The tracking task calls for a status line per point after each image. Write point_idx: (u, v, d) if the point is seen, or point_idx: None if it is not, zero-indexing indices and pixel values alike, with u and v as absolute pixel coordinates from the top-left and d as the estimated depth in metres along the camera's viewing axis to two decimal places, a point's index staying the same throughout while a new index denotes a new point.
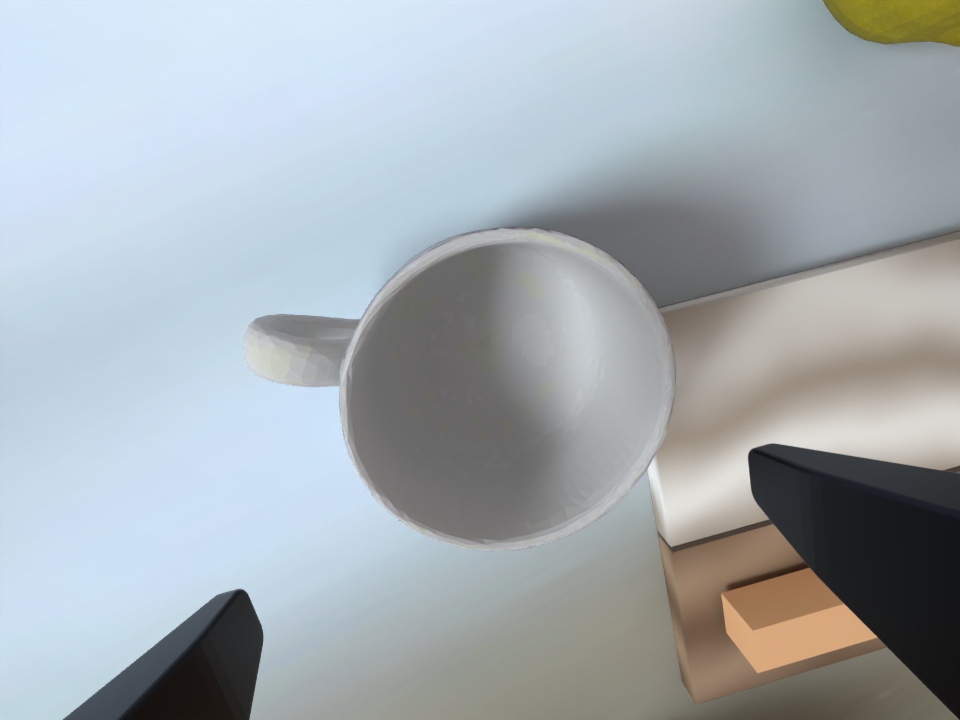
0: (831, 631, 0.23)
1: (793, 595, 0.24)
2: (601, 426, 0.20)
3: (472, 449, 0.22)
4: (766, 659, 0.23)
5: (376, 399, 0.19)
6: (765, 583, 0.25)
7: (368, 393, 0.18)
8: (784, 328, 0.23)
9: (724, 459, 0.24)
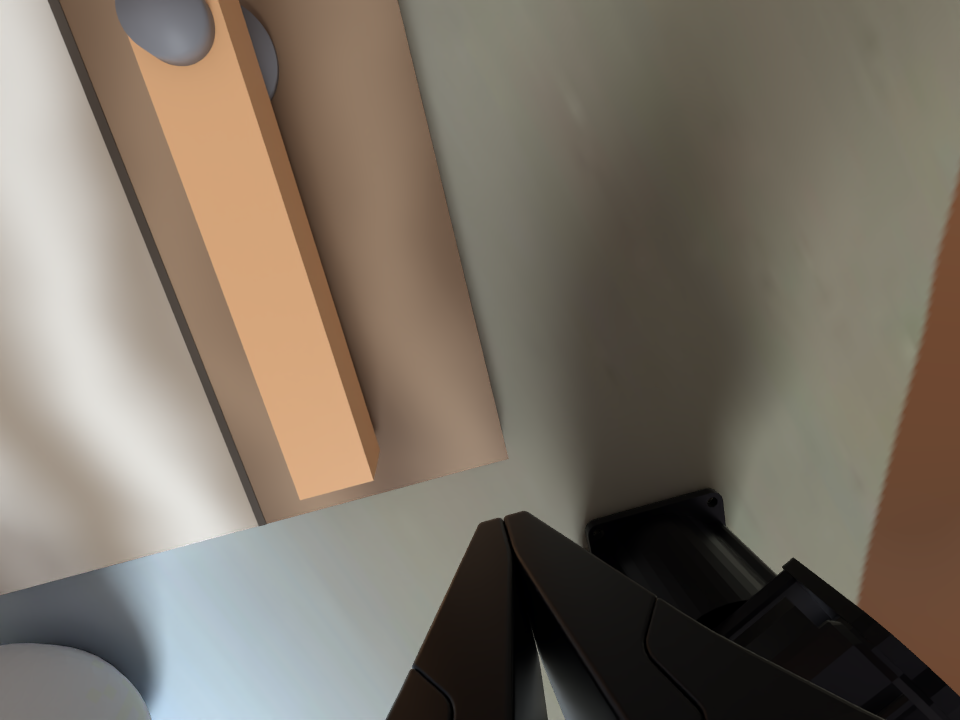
0: (304, 383, 0.16)
1: None
2: None
3: None
4: (350, 472, 0.16)
5: None
6: None
7: None
8: None
9: (126, 479, 0.19)
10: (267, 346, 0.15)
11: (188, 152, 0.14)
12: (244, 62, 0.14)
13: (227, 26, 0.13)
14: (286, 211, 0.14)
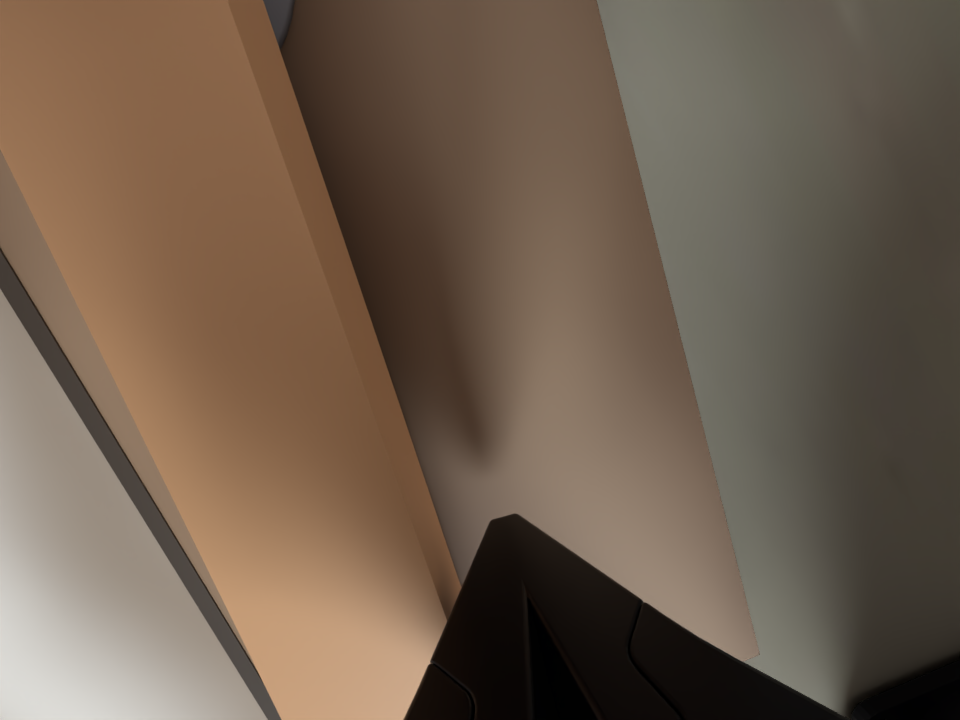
0: (383, 694, 0.07)
1: None
2: None
3: None
4: None
5: None
6: None
7: None
8: None
9: None
10: (298, 628, 0.06)
11: (65, 174, 0.05)
12: None
13: None
14: (339, 317, 0.06)
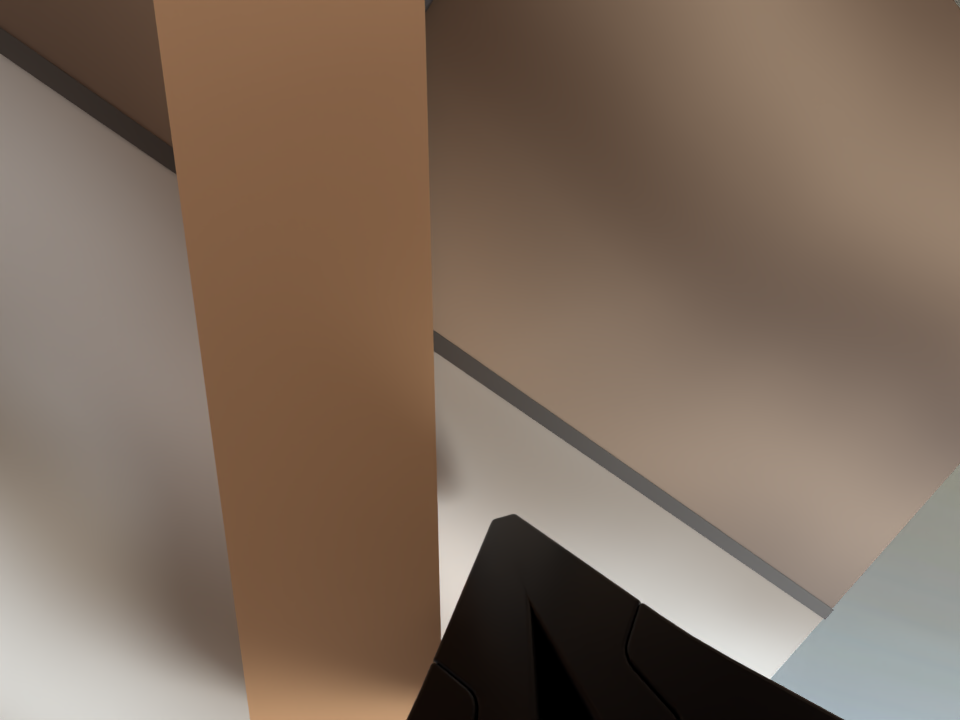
0: (355, 680, 0.07)
1: None
2: None
3: None
4: None
5: None
6: None
7: None
8: None
9: None
10: (293, 592, 0.06)
11: (214, 80, 0.05)
12: None
13: None
14: (431, 292, 0.06)
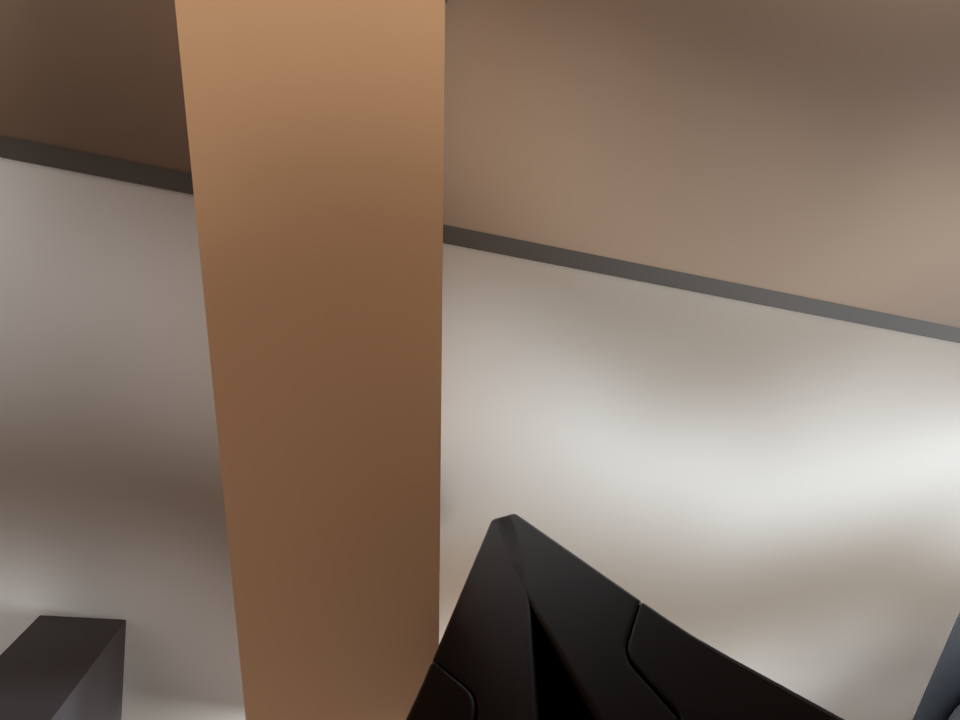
0: (352, 677, 0.07)
1: None
2: None
3: None
4: None
5: None
6: None
7: None
8: None
9: (881, 513, 0.11)
10: (293, 587, 0.06)
11: (231, 72, 0.05)
12: None
13: None
14: None
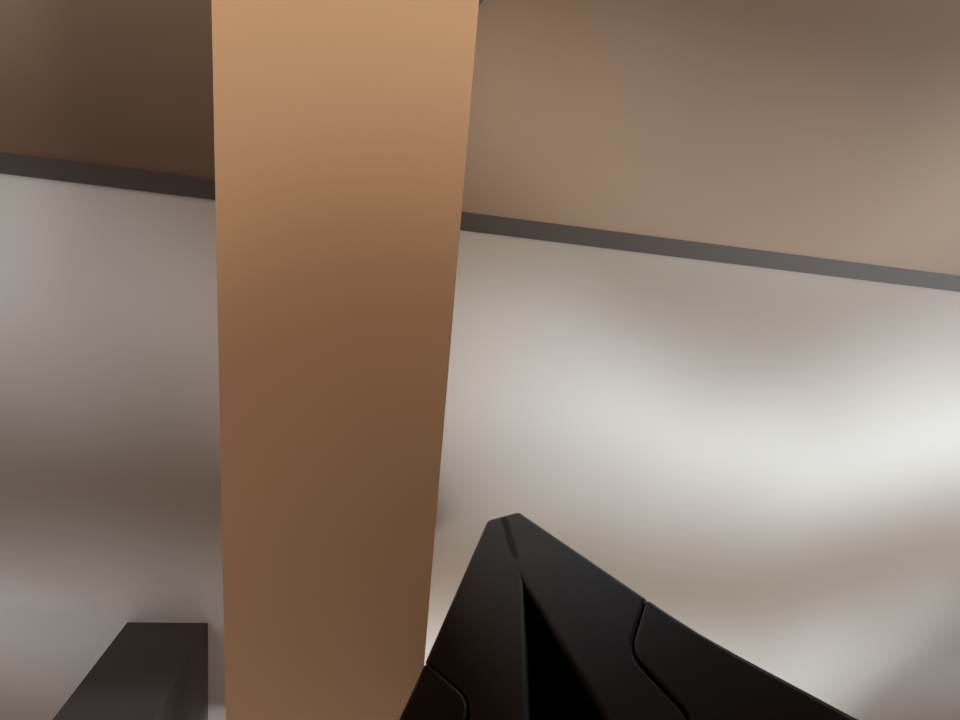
0: (335, 675, 0.06)
1: None
2: None
3: None
4: None
5: None
6: None
7: None
8: None
9: (949, 479, 0.11)
10: (283, 580, 0.06)
11: (261, 61, 0.05)
12: None
13: None
14: (454, 293, 0.06)
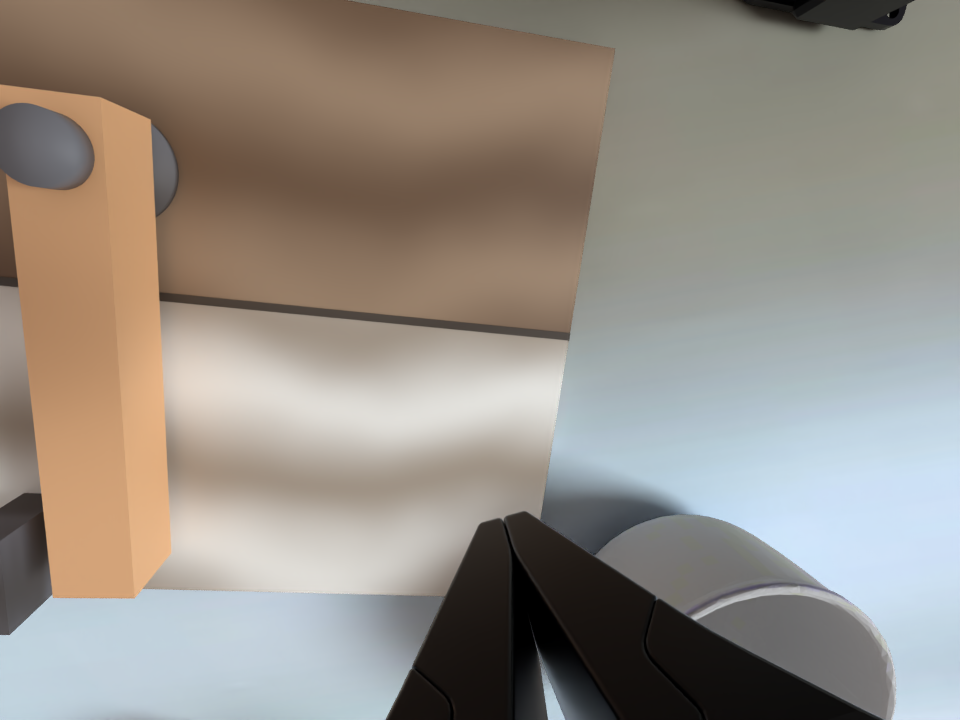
0: (88, 494, 0.16)
1: None
2: None
3: None
4: (112, 585, 0.16)
5: (791, 636, 0.22)
6: None
7: (807, 670, 0.21)
8: (374, 552, 0.21)
9: (474, 429, 0.20)
10: (61, 451, 0.15)
11: (33, 262, 0.14)
12: (122, 195, 0.14)
13: (107, 167, 0.14)
14: (116, 340, 0.15)
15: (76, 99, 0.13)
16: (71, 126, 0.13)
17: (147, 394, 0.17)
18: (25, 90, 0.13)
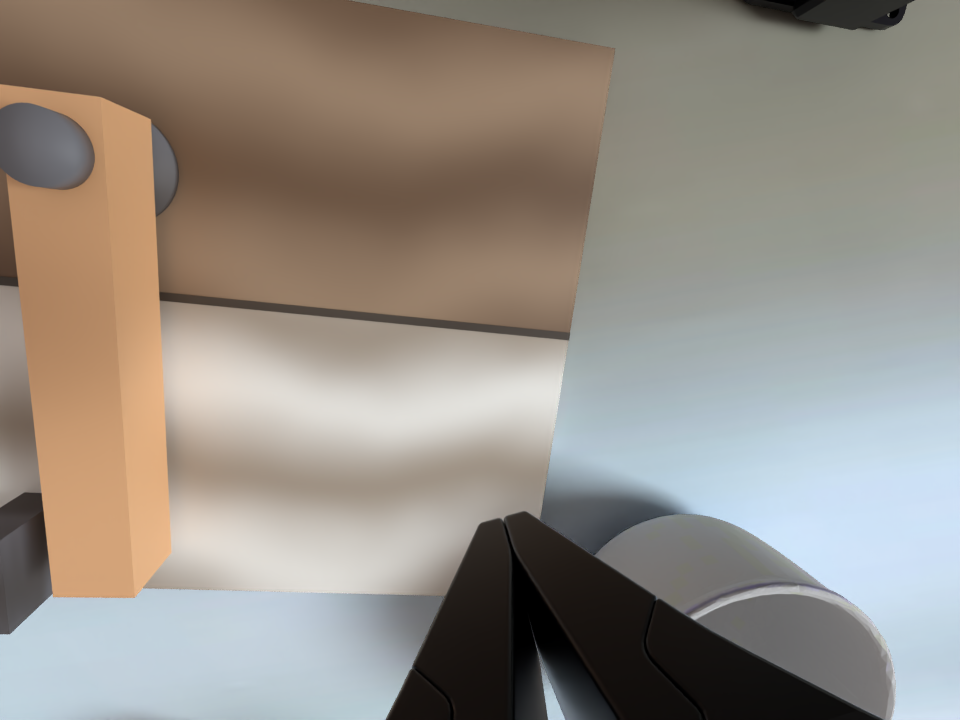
0: (88, 493, 0.16)
1: None
2: None
3: None
4: (113, 584, 0.16)
5: (790, 636, 0.22)
6: None
7: (806, 670, 0.21)
8: (374, 552, 0.21)
9: (474, 428, 0.20)
10: (61, 451, 0.15)
11: (33, 262, 0.14)
12: (122, 195, 0.14)
13: (107, 167, 0.14)
14: (116, 340, 0.15)
15: (76, 99, 0.13)
16: (70, 126, 0.13)
17: (147, 394, 0.17)
18: (25, 90, 0.13)
